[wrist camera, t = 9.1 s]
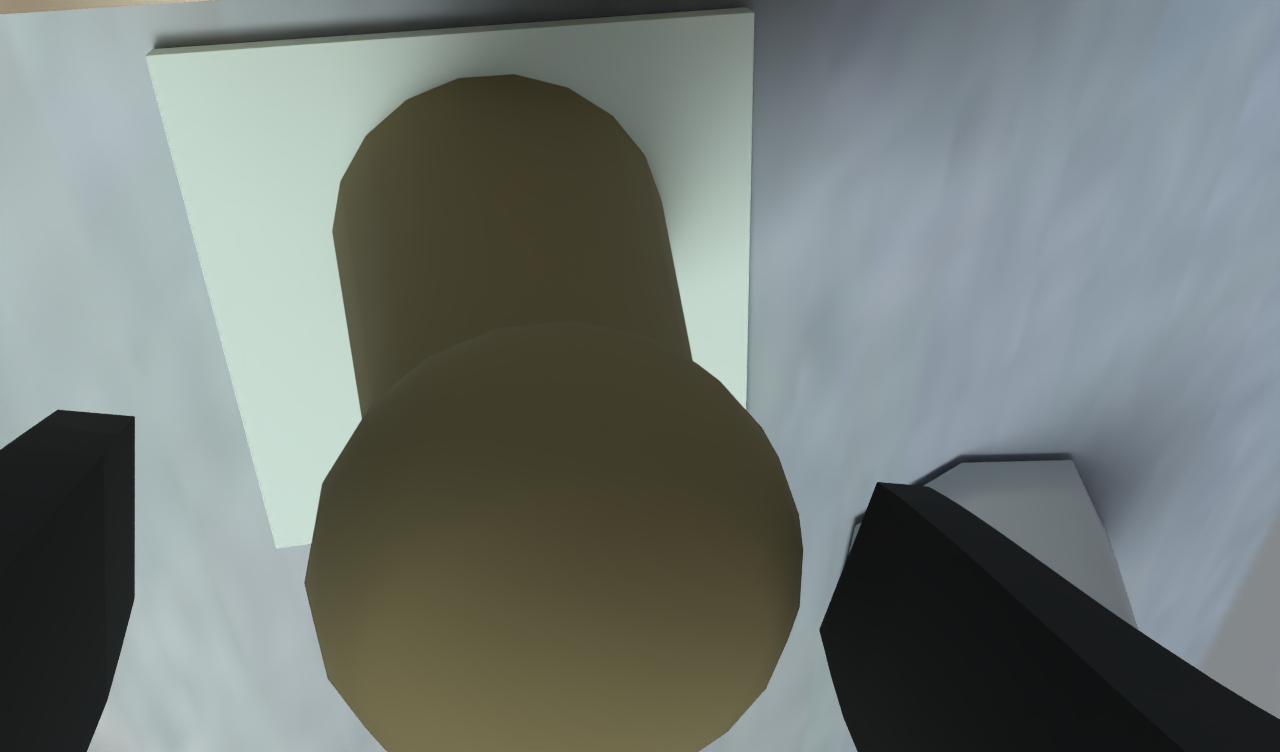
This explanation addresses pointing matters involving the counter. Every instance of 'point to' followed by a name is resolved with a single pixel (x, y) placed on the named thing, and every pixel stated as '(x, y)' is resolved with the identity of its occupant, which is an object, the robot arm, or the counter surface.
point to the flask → (1043, 520)
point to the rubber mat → (327, 142)
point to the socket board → (72, 4)
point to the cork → (536, 450)
